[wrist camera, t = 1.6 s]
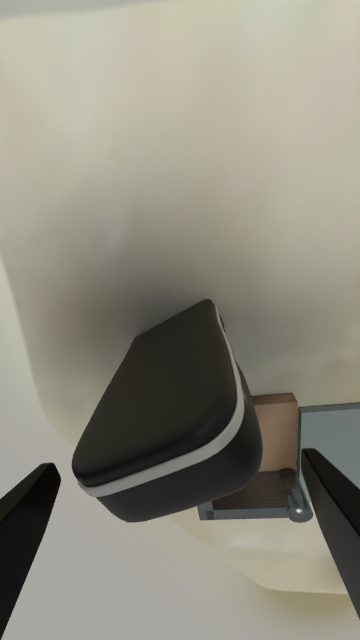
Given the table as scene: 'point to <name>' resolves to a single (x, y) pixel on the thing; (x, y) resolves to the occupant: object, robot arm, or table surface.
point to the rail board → (277, 430)
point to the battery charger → (171, 423)
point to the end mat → (331, 438)
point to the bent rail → (262, 499)
